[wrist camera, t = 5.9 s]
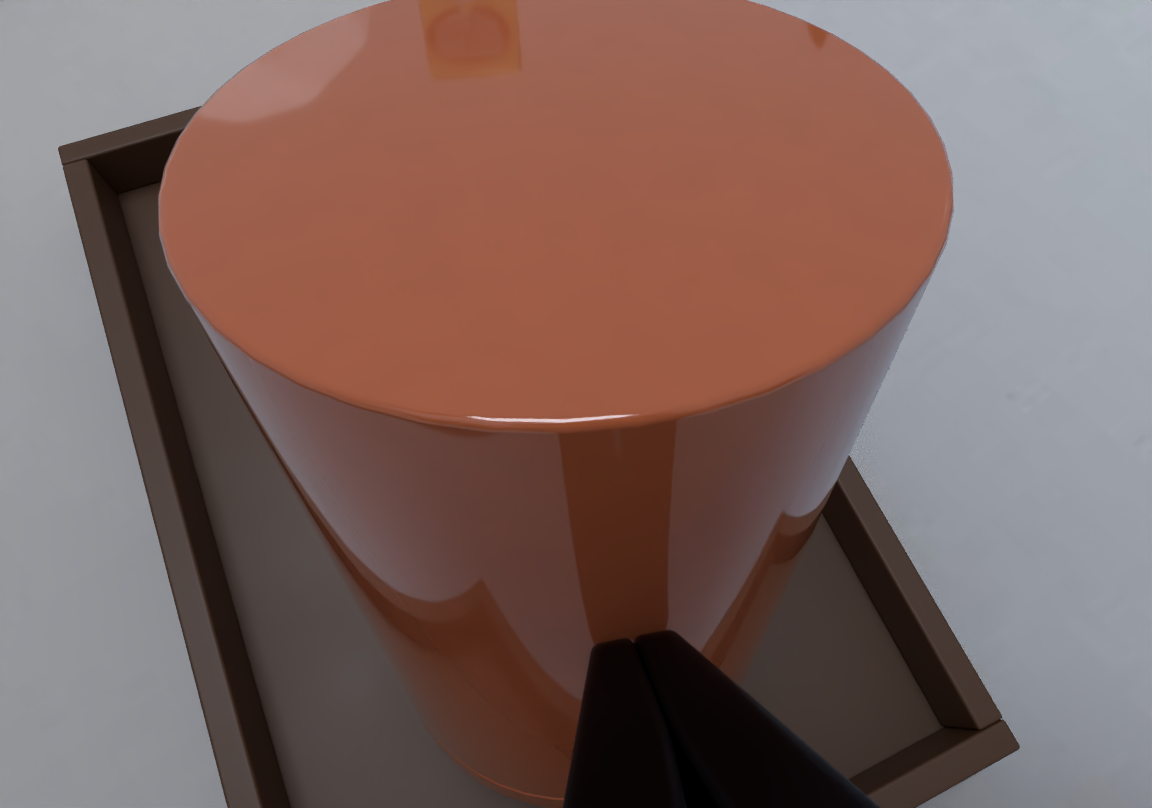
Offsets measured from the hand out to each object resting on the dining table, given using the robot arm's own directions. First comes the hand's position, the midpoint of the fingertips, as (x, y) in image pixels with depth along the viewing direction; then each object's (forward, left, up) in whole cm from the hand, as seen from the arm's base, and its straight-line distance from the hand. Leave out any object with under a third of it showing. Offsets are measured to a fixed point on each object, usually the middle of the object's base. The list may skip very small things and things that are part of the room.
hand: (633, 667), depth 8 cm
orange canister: (+1, 0, -8) cm, 8 cm away
